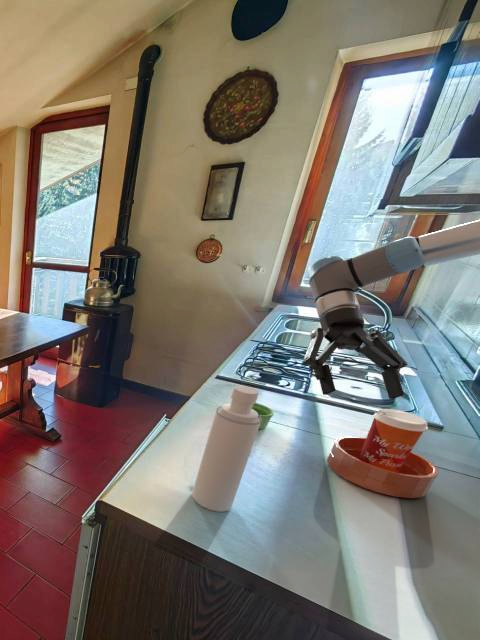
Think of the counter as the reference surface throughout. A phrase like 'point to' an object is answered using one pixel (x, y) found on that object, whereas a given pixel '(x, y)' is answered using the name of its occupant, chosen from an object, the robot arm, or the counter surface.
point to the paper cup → (391, 438)
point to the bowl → (381, 470)
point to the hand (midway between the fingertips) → (362, 394)
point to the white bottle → (227, 451)
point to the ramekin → (263, 414)
